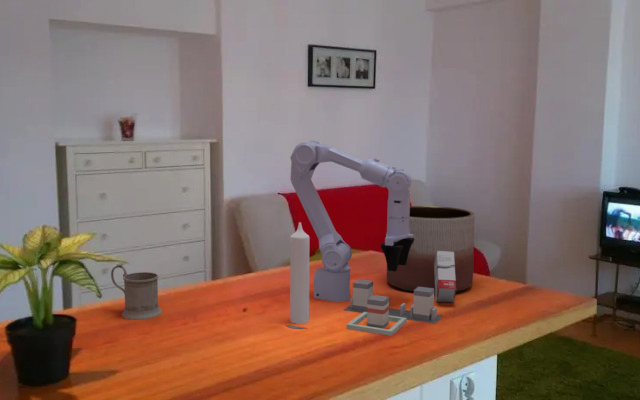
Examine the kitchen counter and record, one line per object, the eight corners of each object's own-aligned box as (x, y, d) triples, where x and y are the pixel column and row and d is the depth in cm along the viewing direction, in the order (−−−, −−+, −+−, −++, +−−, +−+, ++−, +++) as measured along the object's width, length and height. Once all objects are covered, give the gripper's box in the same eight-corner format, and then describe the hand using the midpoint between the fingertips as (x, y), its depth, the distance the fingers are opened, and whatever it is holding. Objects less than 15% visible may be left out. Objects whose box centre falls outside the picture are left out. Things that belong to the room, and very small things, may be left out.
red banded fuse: (366, 328, 155) (367, 299, 154) (372, 323, 158) (373, 294, 158) (383, 330, 153) (383, 301, 152) (388, 325, 157) (389, 297, 156)
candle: (318, 321, 161) (319, 220, 158) (308, 330, 154) (308, 225, 151) (291, 318, 163) (291, 219, 160) (280, 327, 157) (280, 223, 153)
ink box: (457, 289, 170) (454, 250, 176) (437, 289, 170) (436, 249, 177) (453, 304, 177) (451, 266, 183) (435, 304, 177) (433, 266, 184)
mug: (169, 310, 169) (168, 265, 168) (144, 321, 160) (143, 273, 159) (125, 303, 175) (124, 259, 174) (99, 313, 166) (97, 267, 165)
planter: (412, 270, 215) (413, 203, 212) (486, 282, 200) (489, 210, 197) (370, 286, 194) (371, 212, 191) (449, 301, 179) (452, 221, 176)
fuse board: (342, 313, 168) (343, 300, 167) (353, 306, 174) (353, 293, 173) (435, 327, 157) (435, 313, 157) (442, 319, 164) (443, 305, 163)
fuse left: (352, 309, 168) (352, 282, 167) (358, 305, 172) (358, 279, 171) (367, 311, 166) (367, 284, 165) (372, 307, 170) (373, 281, 169)
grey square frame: (346, 332, 153) (346, 324, 153) (363, 319, 163) (364, 311, 163) (391, 340, 149) (391, 331, 148) (406, 326, 158) (406, 317, 158)
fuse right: (412, 318, 161) (413, 290, 160) (417, 313, 165) (418, 286, 164) (428, 320, 159) (429, 292, 159) (433, 316, 163) (434, 288, 162)
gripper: (404, 222, 163) (403, 275, 165) (421, 214, 176) (419, 263, 178) (377, 219, 166) (376, 272, 168) (396, 212, 179) (395, 261, 181)
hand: (397, 267), depth 173 cm, fingers open, 7 cm apart
